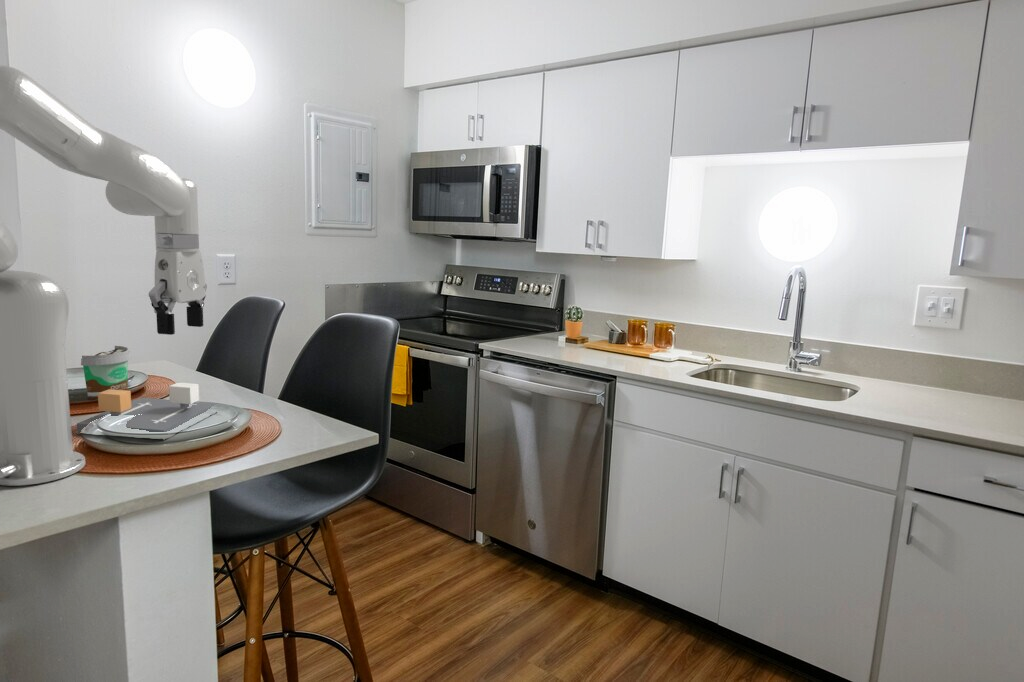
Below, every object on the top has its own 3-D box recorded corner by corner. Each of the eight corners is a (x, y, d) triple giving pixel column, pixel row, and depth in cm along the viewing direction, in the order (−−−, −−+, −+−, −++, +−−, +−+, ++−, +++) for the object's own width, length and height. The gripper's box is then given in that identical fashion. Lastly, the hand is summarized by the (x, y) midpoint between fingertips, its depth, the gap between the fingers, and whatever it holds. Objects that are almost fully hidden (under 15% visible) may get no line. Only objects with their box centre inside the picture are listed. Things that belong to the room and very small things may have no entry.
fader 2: (191, 409, 129) (189, 387, 128) (170, 408, 130) (169, 386, 129) (199, 405, 132) (198, 384, 131) (179, 404, 132) (178, 382, 132)
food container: (111, 402, 139) (108, 357, 137) (83, 401, 139) (80, 356, 137) (145, 388, 151) (142, 346, 149) (119, 386, 151) (116, 345, 149)
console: (164, 440, 118) (163, 429, 118) (77, 433, 120) (76, 422, 119) (217, 412, 136) (217, 402, 135) (141, 406, 137) (140, 397, 137)
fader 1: (121, 418, 122) (119, 394, 121) (99, 416, 122) (97, 393, 122) (131, 413, 125) (130, 390, 124) (110, 412, 125) (108, 389, 125)
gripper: (168, 245, 116) (172, 338, 119) (219, 243, 133) (222, 324, 136) (129, 243, 117) (134, 336, 120) (185, 241, 134) (188, 322, 137)
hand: (181, 330), depth 128 cm, fingers open, 9 cm apart
